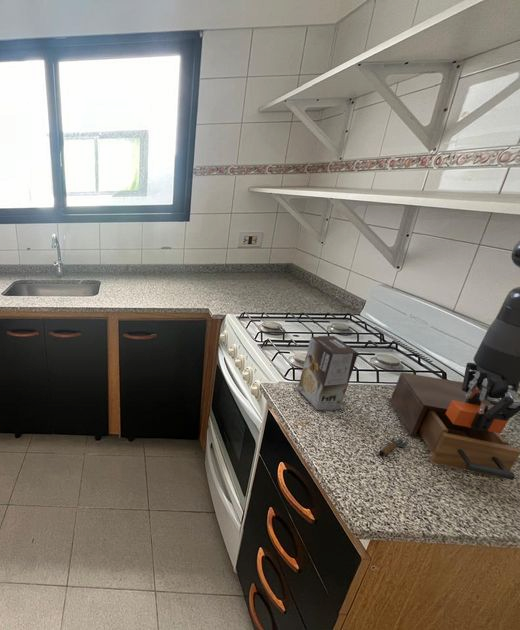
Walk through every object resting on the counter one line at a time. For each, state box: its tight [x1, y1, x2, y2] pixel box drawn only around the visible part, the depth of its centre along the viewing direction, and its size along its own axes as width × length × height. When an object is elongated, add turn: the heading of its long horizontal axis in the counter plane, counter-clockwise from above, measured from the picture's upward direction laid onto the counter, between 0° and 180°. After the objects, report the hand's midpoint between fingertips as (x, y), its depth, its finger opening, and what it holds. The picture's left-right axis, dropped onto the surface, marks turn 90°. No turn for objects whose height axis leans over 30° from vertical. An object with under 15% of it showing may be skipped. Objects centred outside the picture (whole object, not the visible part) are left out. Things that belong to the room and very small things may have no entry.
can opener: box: [378, 437, 408, 457], centre depth 73 cm, size 9×2×1 cm, turn 112°
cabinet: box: [389, 372, 467, 440], centre depth 79 cm, size 14×12×9 cm
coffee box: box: [297, 335, 359, 411], centre depth 86 cm, size 9×6×16 cm
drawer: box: [418, 409, 520, 481], centre depth 69 cm, size 17×11×7 cm, turn 158°
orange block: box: [445, 400, 510, 434], centre depth 67 cm, size 7×3×3 cm, turn 68°
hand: (472, 422), depth 68 cm, fingers closed on orange block, 3 cm apart
